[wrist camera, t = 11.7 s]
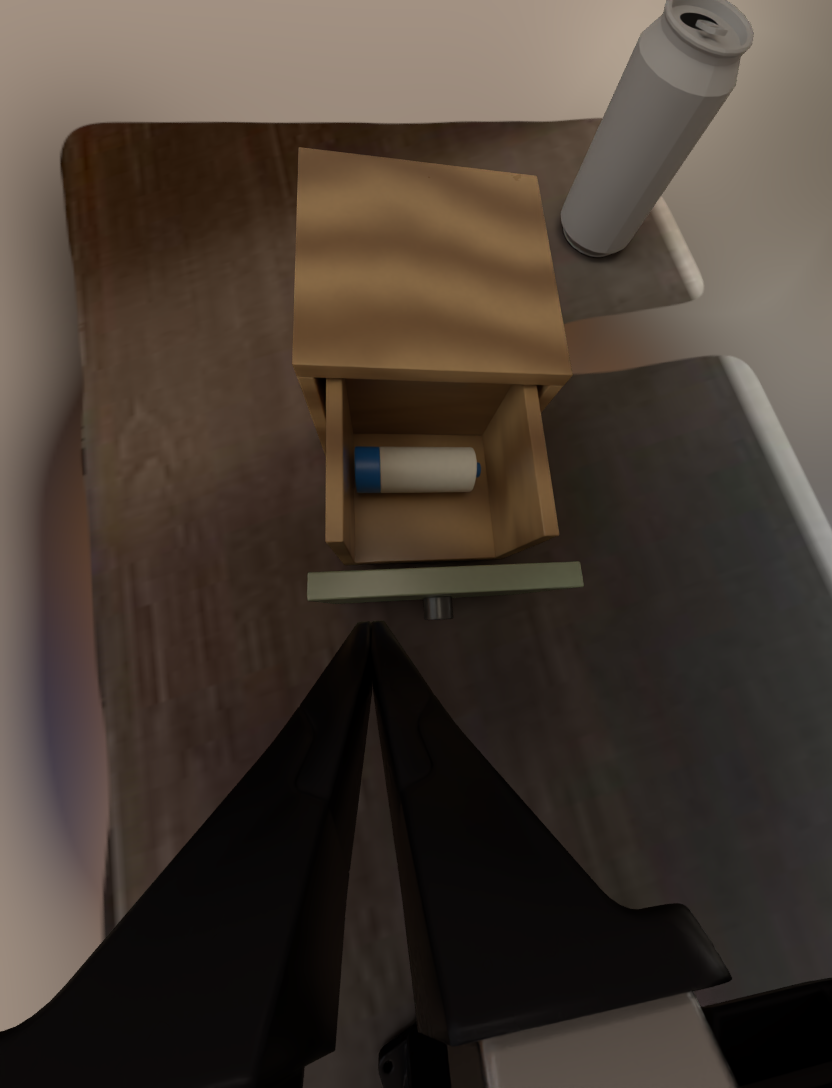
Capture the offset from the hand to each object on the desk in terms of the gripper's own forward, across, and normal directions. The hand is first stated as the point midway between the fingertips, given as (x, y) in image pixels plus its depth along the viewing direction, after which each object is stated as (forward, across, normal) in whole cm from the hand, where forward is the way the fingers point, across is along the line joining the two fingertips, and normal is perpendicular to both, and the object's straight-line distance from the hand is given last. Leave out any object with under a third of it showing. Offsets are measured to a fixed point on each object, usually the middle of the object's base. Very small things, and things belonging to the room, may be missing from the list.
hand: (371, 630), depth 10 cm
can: (+34, +23, +18) cm, 45 cm away
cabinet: (+21, +4, +5) cm, 22 cm away
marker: (+11, +3, +1) cm, 12 cm away
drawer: (+13, +4, -3) cm, 13 cm away
